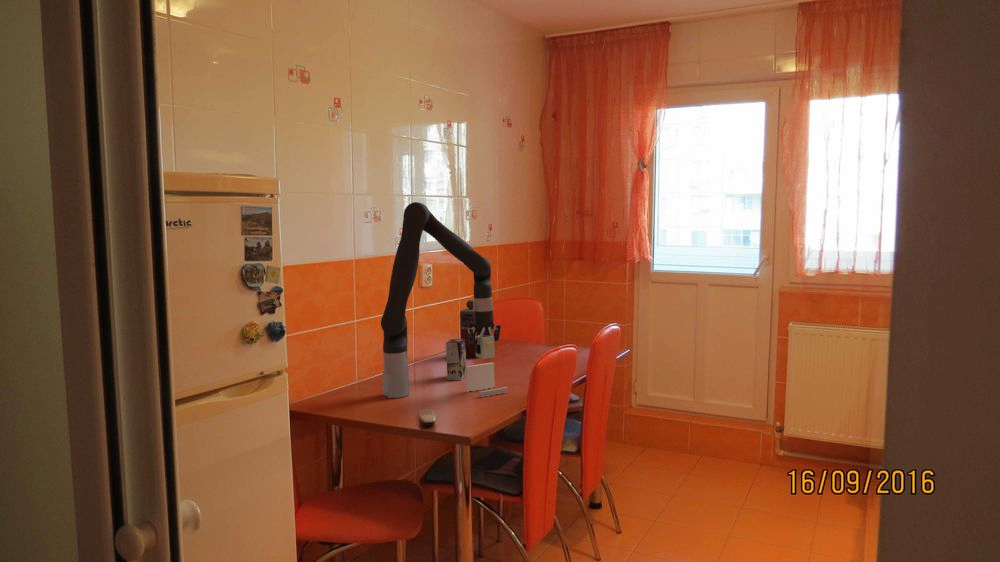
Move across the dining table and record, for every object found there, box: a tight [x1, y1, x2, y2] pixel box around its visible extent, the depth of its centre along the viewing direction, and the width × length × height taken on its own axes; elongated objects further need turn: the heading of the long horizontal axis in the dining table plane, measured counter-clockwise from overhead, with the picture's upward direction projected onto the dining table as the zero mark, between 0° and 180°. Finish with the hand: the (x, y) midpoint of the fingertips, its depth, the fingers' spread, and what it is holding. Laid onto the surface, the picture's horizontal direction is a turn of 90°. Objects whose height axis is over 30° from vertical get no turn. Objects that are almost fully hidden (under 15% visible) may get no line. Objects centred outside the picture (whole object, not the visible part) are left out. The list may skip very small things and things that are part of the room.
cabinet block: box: [476, 335, 496, 360], centre depth 269 cm, size 5×7×8 cm
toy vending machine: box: [459, 299, 481, 359], centre depth 339 cm, size 9×11×28 cm
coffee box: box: [445, 338, 467, 381], centre depth 297 cm, size 9×6×16 cm
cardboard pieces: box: [465, 362, 509, 398], centre depth 270 cm, size 12×11×10 cm
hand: (485, 352), depth 270 cm, fingers closed on cabinet block, 5 cm apart
